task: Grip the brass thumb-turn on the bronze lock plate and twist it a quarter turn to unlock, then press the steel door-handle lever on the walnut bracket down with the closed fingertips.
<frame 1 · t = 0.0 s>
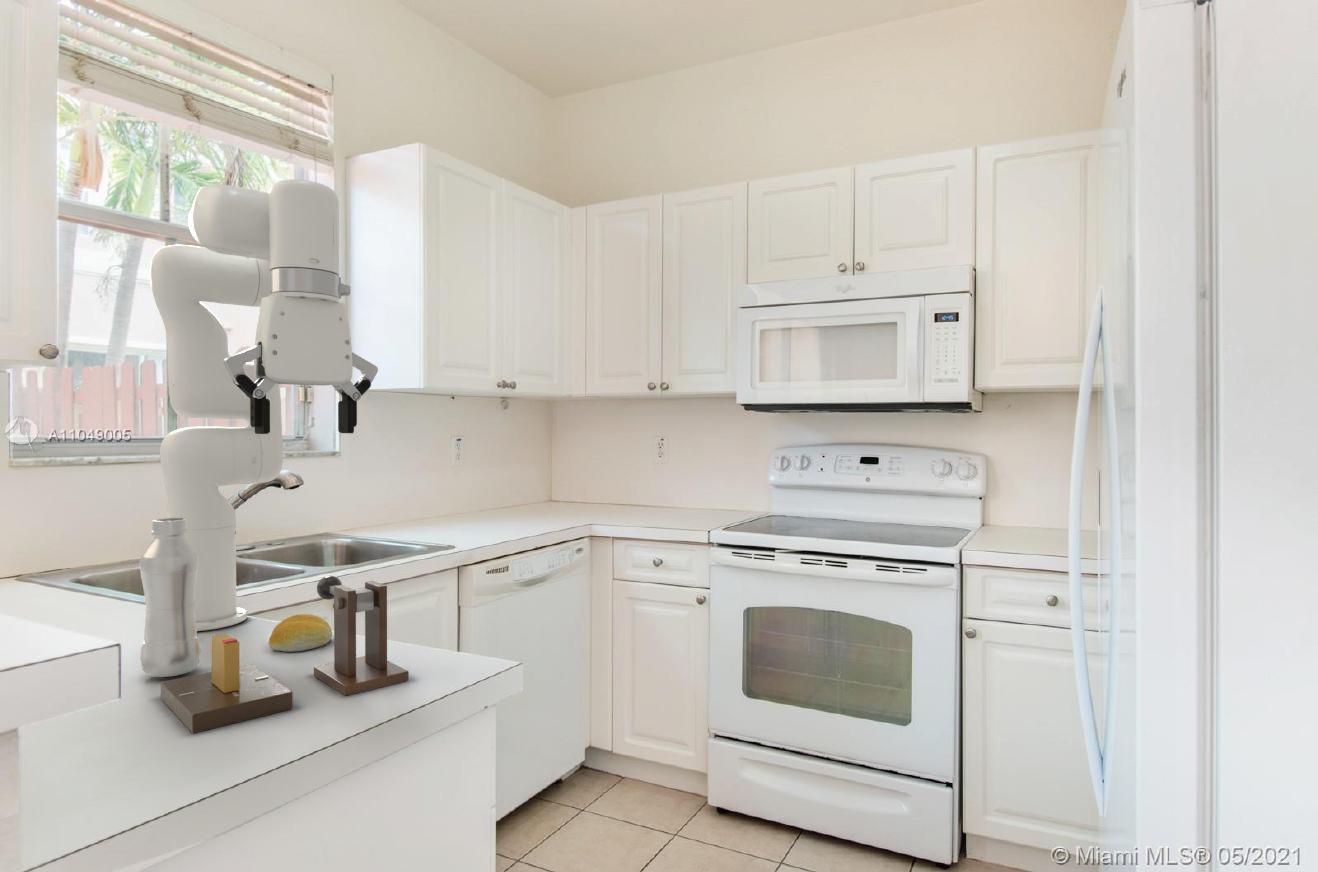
hand: (305, 433, 92), 31 cm above the counter, tool pointing down, fingers open, 9 cm apart
lock plate: (225, 703, 89), on the counter
handle bracket: (360, 678, 98), on the counter
plastic bottle: (171, 676, 99), on the counter
lock knob: (225, 661, 89), point 5 cm above the counter, hinge at 0.0°
bread roll: (300, 645, 113), on the counter
door lever: (344, 593, 102), point 10 cm above the counter, hinge at 0.0°
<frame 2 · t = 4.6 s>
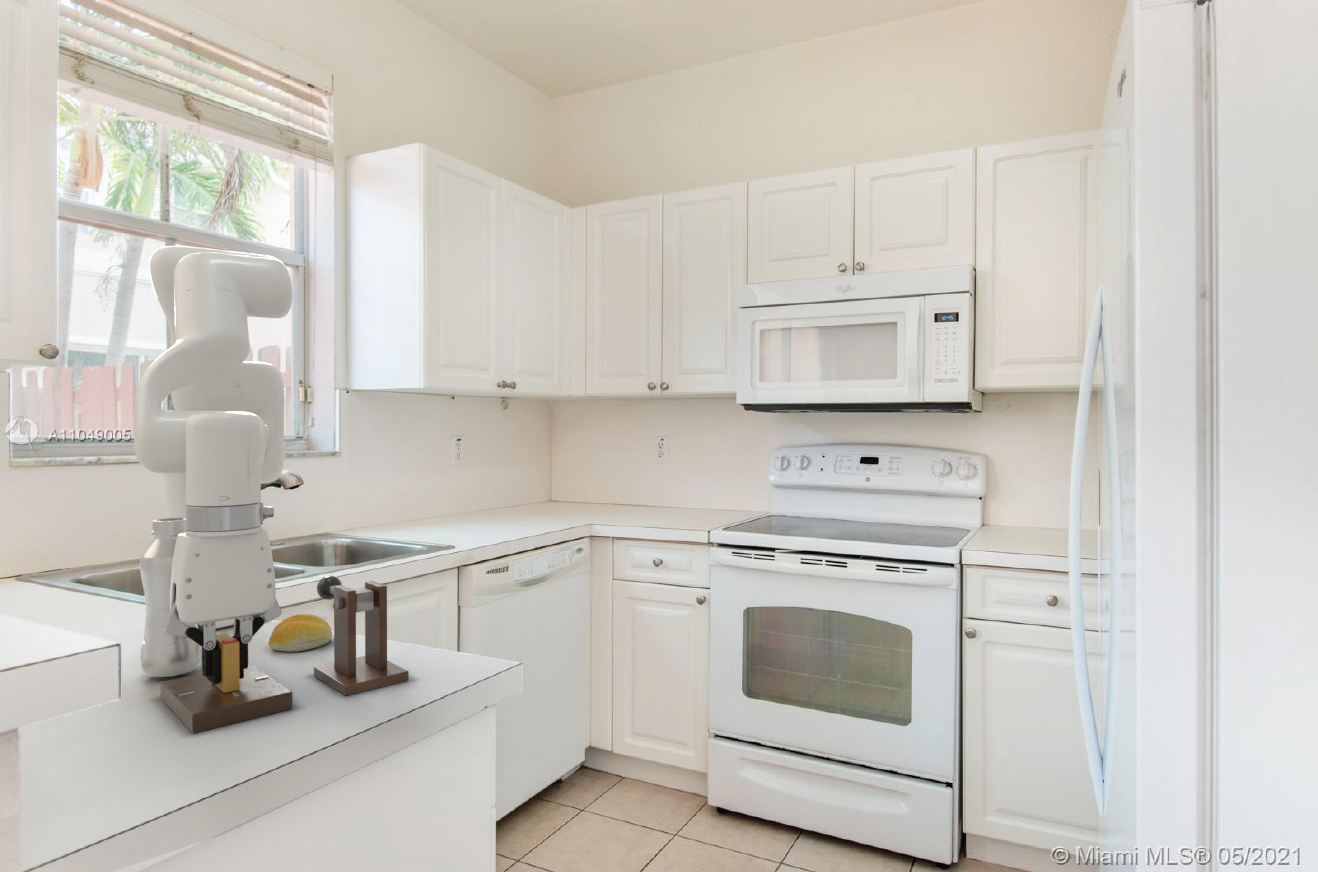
hand: (225, 677, 89), 3 cm above the counter, tool pointing down, fingers closed on lock knob
lock knob: (225, 661, 89), point 5 cm above the counter, hinge at 0.0°, touching gripper
everything else where it was.
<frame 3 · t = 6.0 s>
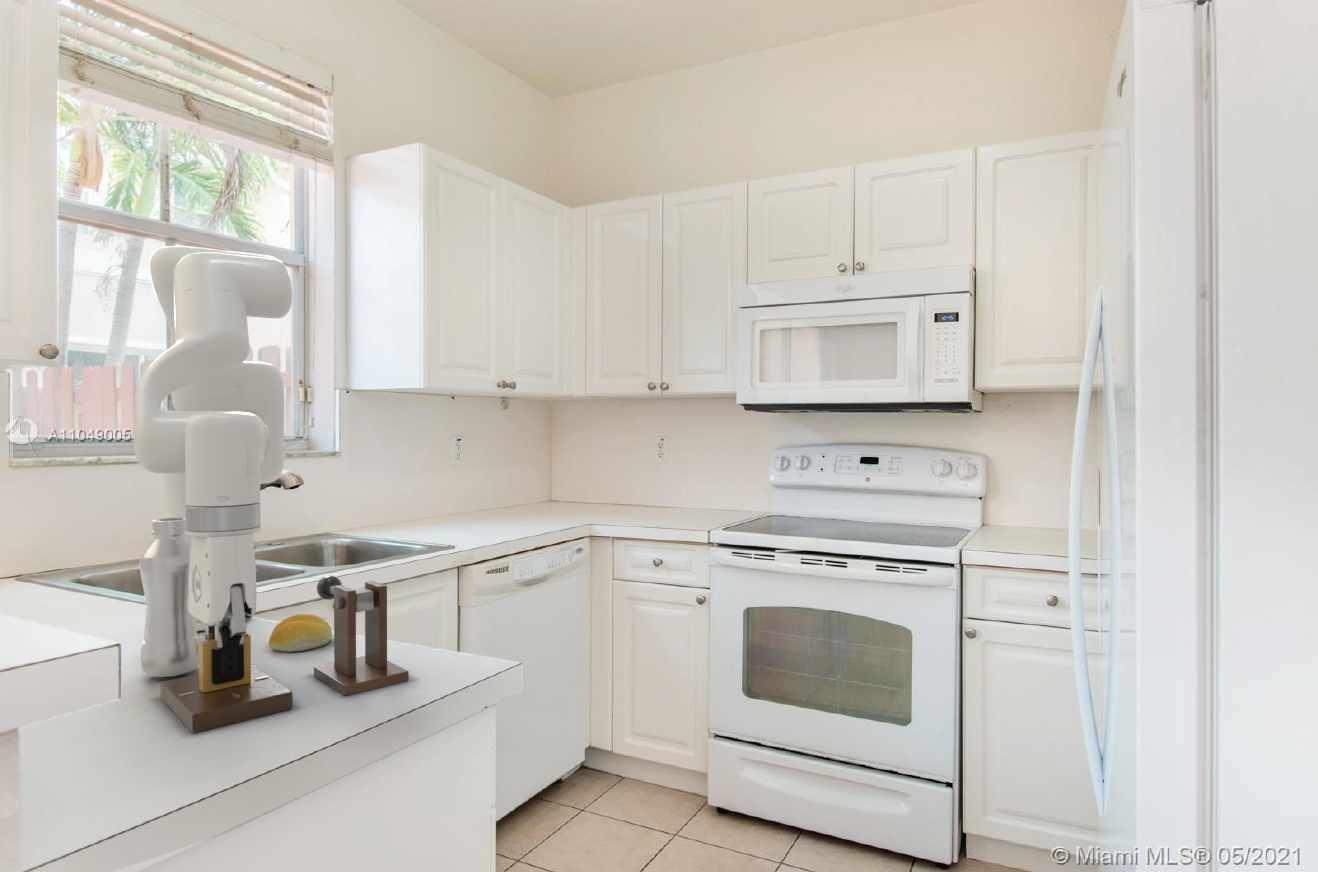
hand: (224, 677, 89), 3 cm above the counter, tool pointing down, fingers closed on lock knob
lock knob: (225, 661, 89), point 5 cm above the counter, hinge at 89.9°, touching gripper
everything else where it was.
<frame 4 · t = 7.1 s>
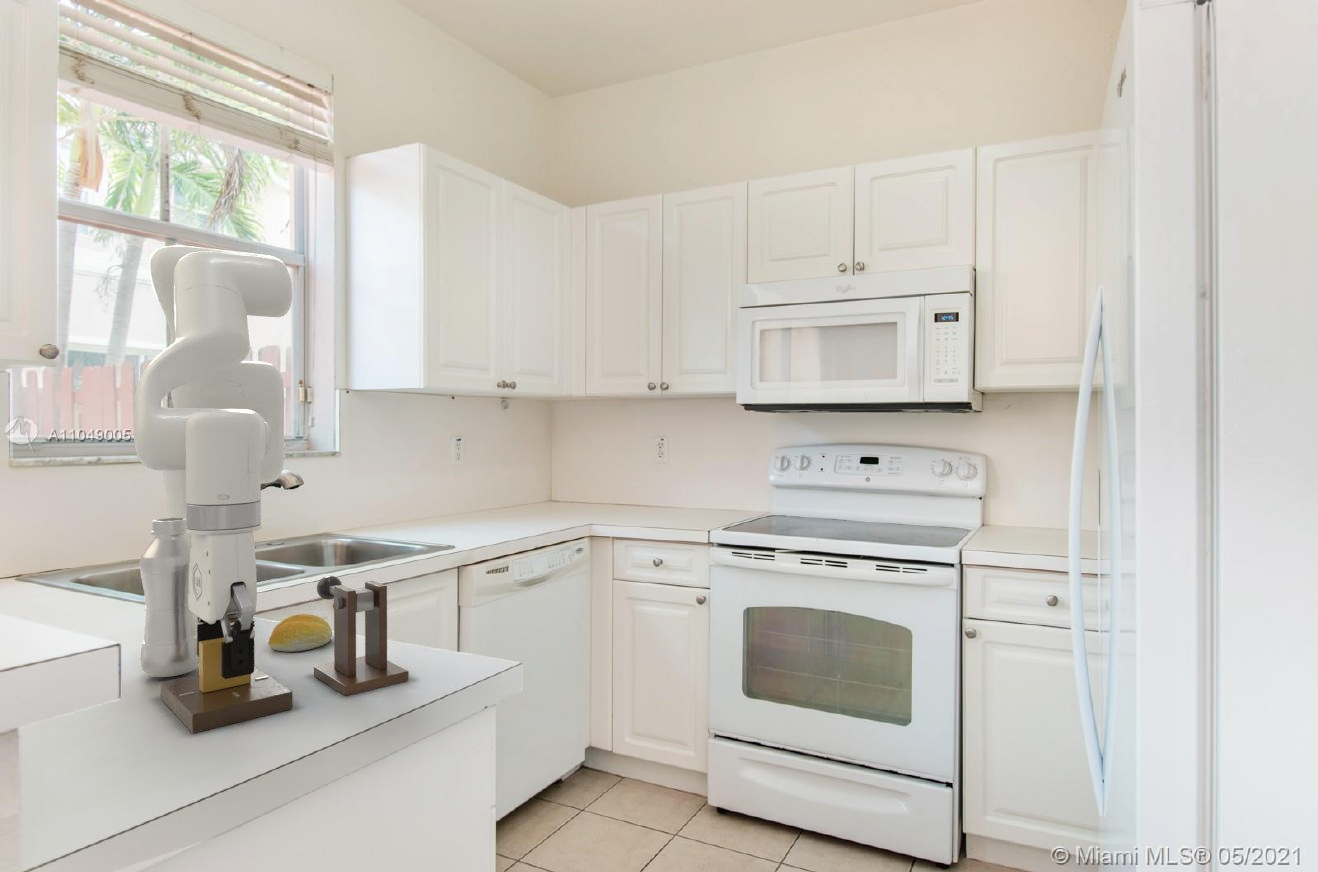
hand: (225, 665, 89), 4 cm above the counter, tool pointing down, fingers open, 9 cm apart
lock knob: (225, 661, 89), point 5 cm above the counter, hinge at 89.9°
everything else where it was.
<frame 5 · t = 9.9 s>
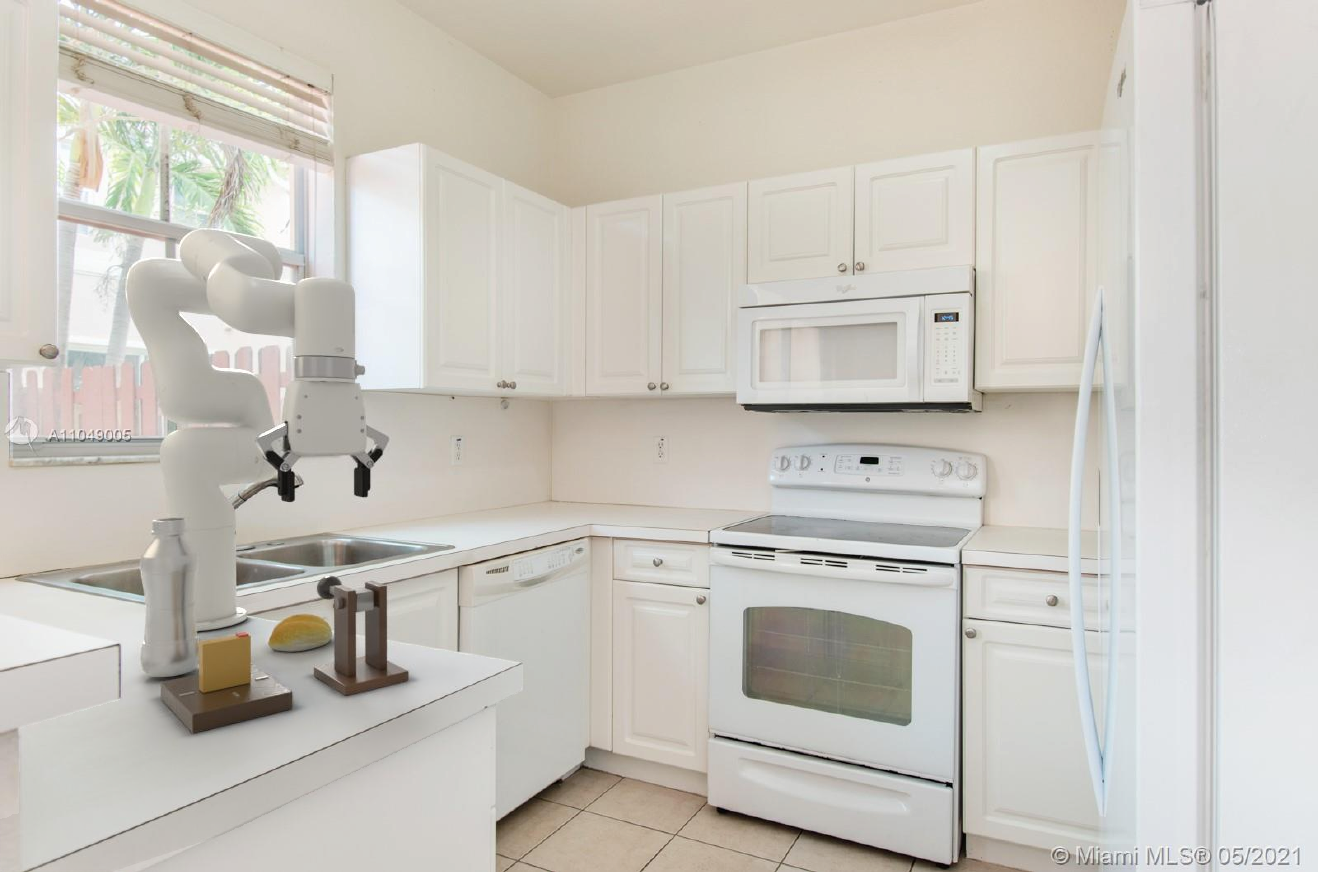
hand: (325, 498, 104), 22 cm above the counter, tool pointing down, fingers open, 9 cm apart
nothing on the counter moved.
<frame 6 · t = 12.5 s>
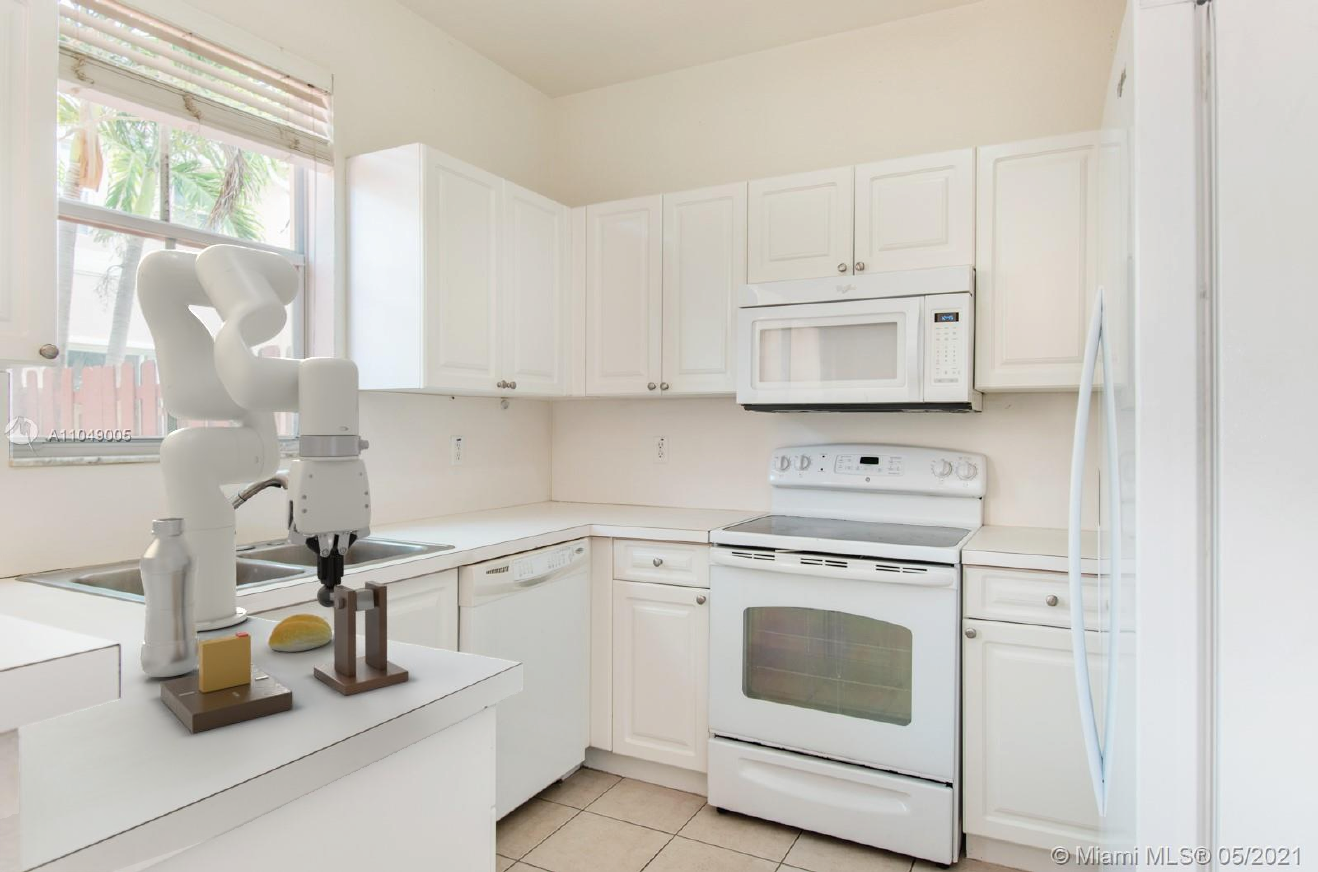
hand: (330, 583, 105), 11 cm above the counter, tool pointing down, fingers closed
door lever: (344, 597, 102), point 9 cm above the counter, hinge at -6.1°
everything else where it was.
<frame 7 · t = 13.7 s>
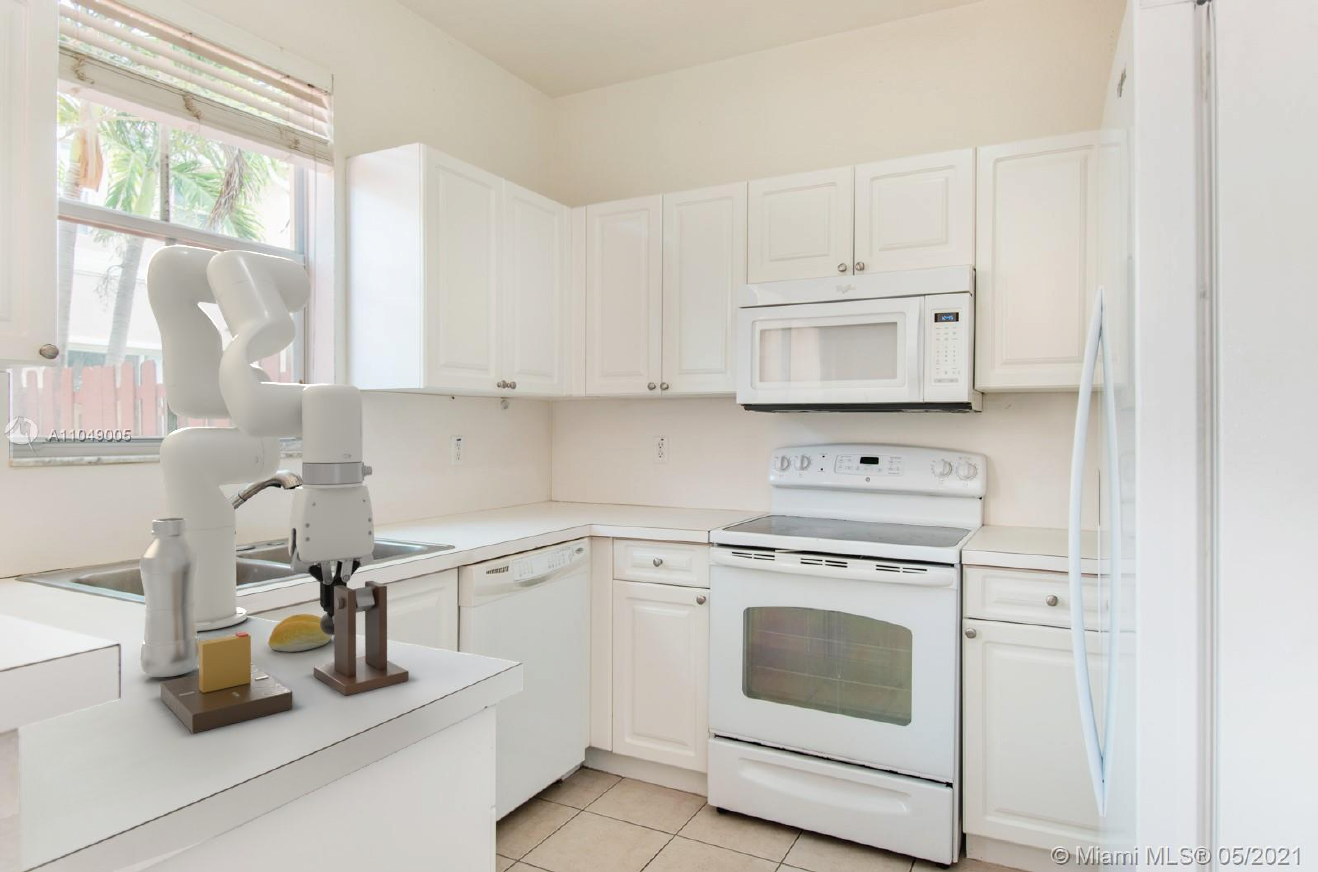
hand: (333, 611, 104), 7 cm above the counter, tool pointing down, fingers closed
door lever: (346, 611, 101), point 8 cm above the counter, hinge at -27.5°, touching gripper
everything else where it was.
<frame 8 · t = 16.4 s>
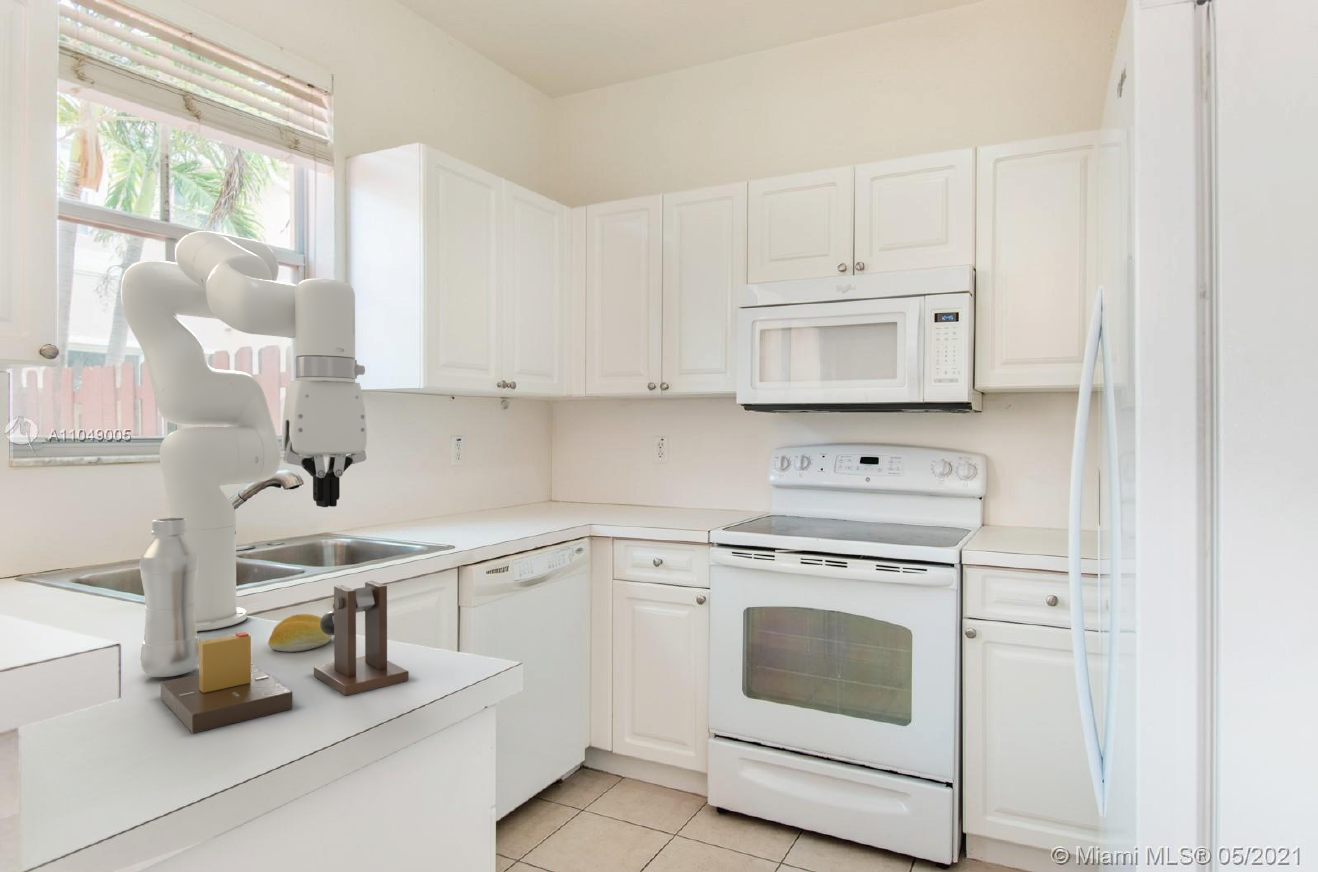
hand: (326, 505, 106), 21 cm above the counter, tool pointing down, fingers closed
door lever: (346, 612, 101), point 8 cm above the counter, hinge at -27.6°
everything else where it was.
at the end: lock knob at +90° (first picture: +0°); door lever at -28° (first picture: +0°) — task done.
